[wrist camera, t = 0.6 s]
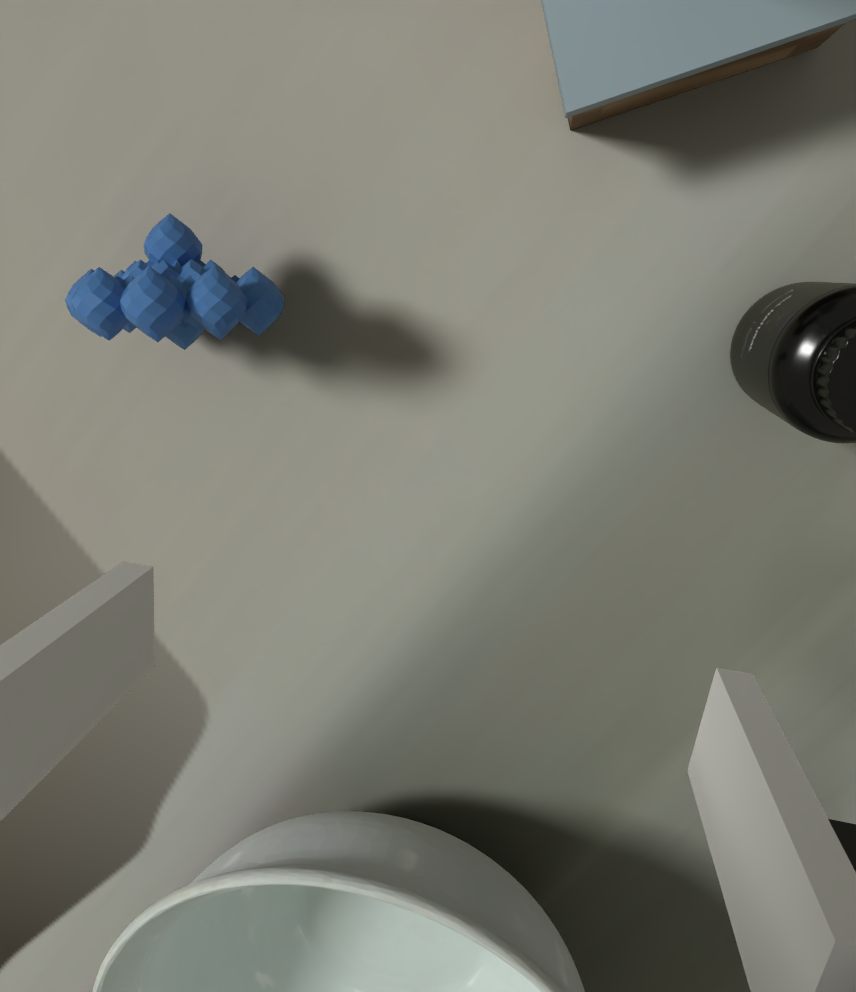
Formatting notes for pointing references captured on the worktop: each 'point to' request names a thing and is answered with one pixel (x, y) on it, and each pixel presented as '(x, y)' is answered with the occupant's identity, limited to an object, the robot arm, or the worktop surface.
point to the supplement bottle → (802, 357)
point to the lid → (667, 40)
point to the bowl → (344, 918)
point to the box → (702, 78)
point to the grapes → (174, 293)
